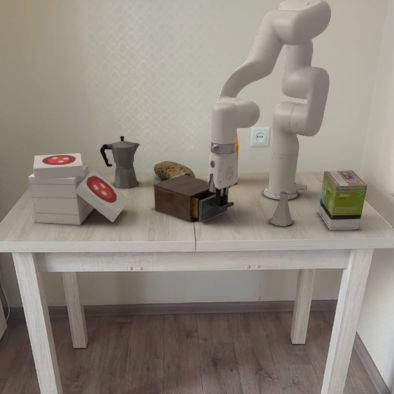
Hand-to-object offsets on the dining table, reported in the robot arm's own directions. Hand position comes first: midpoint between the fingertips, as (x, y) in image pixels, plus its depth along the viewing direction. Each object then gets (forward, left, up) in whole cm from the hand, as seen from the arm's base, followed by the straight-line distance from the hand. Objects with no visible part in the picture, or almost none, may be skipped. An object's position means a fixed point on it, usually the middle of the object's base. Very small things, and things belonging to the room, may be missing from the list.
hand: (220, 206), depth 160 cm
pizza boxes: (+47, -7, -5) cm, 48 cm away
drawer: (+5, -6, -4) cm, 9 cm away
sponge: (+15, -43, -5) cm, 46 cm away
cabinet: (+11, -11, -5) cm, 16 cm away
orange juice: (-5, -41, -5) cm, 42 cm away
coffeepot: (+35, -39, -5) cm, 53 cm away
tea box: (-39, +2, -5) cm, 40 cm away
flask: (-20, +2, -5) cm, 21 cm away
